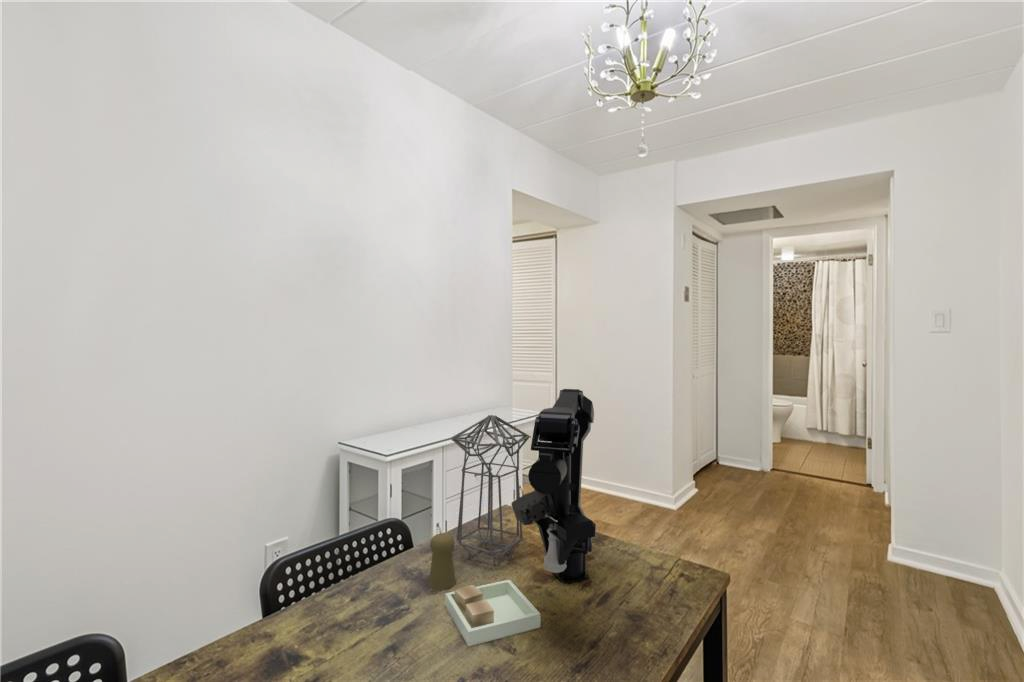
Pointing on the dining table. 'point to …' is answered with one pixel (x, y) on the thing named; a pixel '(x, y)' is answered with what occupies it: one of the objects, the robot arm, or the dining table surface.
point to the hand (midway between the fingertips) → (555, 559)
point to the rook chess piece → (552, 554)
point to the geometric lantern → (456, 439)
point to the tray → (497, 613)
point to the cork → (442, 562)
